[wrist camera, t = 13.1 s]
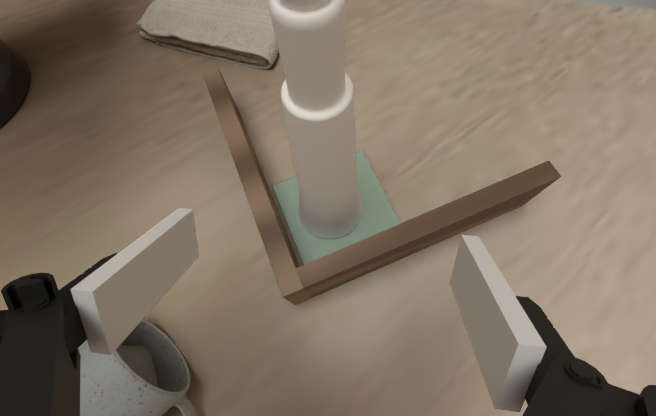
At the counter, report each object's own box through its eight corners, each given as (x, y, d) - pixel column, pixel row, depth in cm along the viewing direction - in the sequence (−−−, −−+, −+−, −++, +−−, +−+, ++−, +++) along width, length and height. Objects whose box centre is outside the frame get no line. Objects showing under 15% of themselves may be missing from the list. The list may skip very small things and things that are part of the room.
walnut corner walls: (223, 111, 36) (201, 70, 31) (409, 43, 39) (420, -7, 33) (295, 304, 29) (282, 296, 23) (522, 205, 31) (561, 176, 25)
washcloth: (182, -19, 45) (171, -43, 42) (307, 4, 42) (304, -20, 40) (139, 46, 41) (123, 24, 38) (274, 75, 38) (268, 54, 36)
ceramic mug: (70, 389, 27) (-28, 410, 20) (153, 313, 29) (90, 307, 22) (144, 505, 24) (61, 578, 17) (230, 413, 26) (188, 444, 19)
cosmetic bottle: (372, 193, 32) (423, -72, 11) (346, 250, 30) (348, 56, 9) (315, 170, 33) (267, -108, 12) (286, 223, 31) (173, -1, 10)
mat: (273, 186, 33) (272, 185, 32) (362, 151, 34) (362, 149, 33) (309, 277, 29) (308, 276, 29) (406, 235, 30) (407, 234, 30)
